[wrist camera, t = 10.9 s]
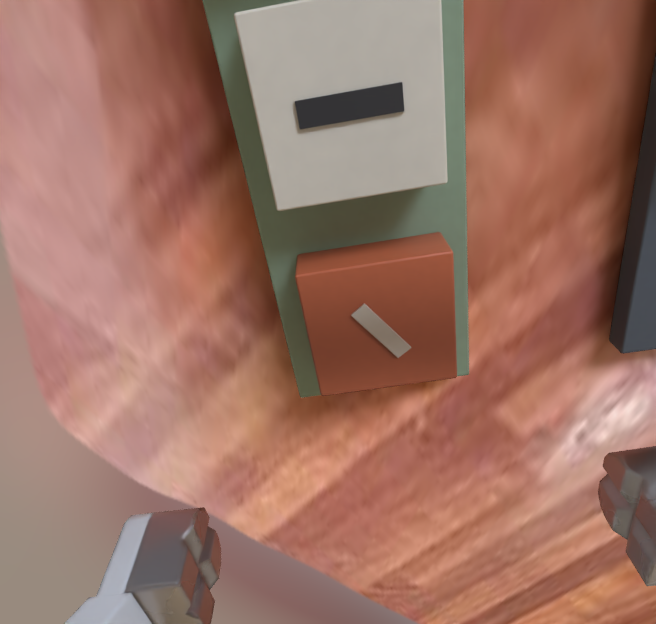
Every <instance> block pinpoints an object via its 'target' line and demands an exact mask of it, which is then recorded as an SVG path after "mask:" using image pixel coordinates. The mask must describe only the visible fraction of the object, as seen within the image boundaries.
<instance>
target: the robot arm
mask: <svg viewBox="0 0 656 624" xmlns="http://www.w3.org/2000/svg"><path fill="white" fill-rule="evenodd" d="M603 467H604V469H605V470H606V472H607V473H608V474H607V475H606V476H605V477H604V478H603V479H602V480H601V481H600V483H599V490H598V495H599V500H600V506H601V509H602V511H603V513H604V516H605V518H606V520H607V521H608V523H609V525H610V527H611V528H612V530H613V531H615V532H616V533H618V534H619V535H621V536H622V537H624V538H625V539H627V546H626V553H627V555H628V556H629V558H630V560H631V561H632V563H633V565H634V566H635V568H636V569H637V571H638V573H639V574H640V576H641V578H642V579H643V581H644V582H645V584H646V586H654V585H656V446H653V447H646V448H639V449H632V450H626V451H619V452H612V453H608V454H607V455H606V456H605V458H604V463H603ZM208 522H209V516H208V514H207V512H206V510H205V508H204V507H203V508H194V509H184V510H174V511H165V512H155V513H147V514H139V515H131V516H130V517H129V518H128V520H127V521H126V522H125V523H124V526H123V528H122V531H121V533H120V536H119V539H118V541H117V544H116V546H115V549H114V551H113V554H112V557H111V559H110V562H109V564H108V567H107V570H106V572H105V575H104V577H103V580H102V582H101V585H100V588H99V590H98V593H97V595H96V597H90V598H88V599H87V600H86V601H85V602H84V603H83V604H82V605H81V606H80V607H79V608H78V610H77V611H76V612H75V613H74V614H73V615H72V616H71V617H70V618H69V619H68V620H67V621H66V622H65V623H64V624H211V619H212V614H213V608H214V603H215V601H214V598H213V597H212V594H211V592H210V589H211V588H212V586H213V585H214V584H215V582H216V581H217V580H218V579H219V573H220V567H221V547H220V542H219V538H218V535H217V533H216V531H215V530H213V529H212V528H210V527H208Z"/></svg>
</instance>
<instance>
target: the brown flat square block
mask: <svg viewBox="0 0 656 624" xmlns="http://www.w3.org/2000/svg"><path fill="white" fill-rule="evenodd" d="M295 280H296V284H297V289H298V293H299V298H300V303H301V307H302V312H303V316H304V321H305V325H306V330H307V335H308V339H309V344H310V348H311V353H312V357H313V362H314V367H315V371H316V376H317V380H318V385H319V389H320V394H321V395H322V396H327V395H334V394H341V393H349V392H356V391H363V390H371V389H378V388H385V387H392V386H400V385H407V384H414V383H422V382H429V381H436V380H443V379H451V378H456V377H457V353H456V321H455V289H454V258H453V251H452V249H451V248H450V246H449V245H448V243H447V242H446V240H445V238H444V237H443V235H442V234H441V232H436V233H429V234H423V235H417V236H410V237H404V238H398V239H391V240H385V241H379V242H372V243H366V244H360V245H353V246H347V247H341V248H334V249H328V250H322V251H315V252H309V253H303V254H298V255H297V262H296V272H295Z"/></svg>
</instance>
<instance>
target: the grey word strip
mask: <svg viewBox="0 0 656 624" xmlns="http://www.w3.org/2000/svg"><path fill="white" fill-rule="evenodd" d="M609 341H610V342H611V343H612V344H613V345H614V346H615V347H616V348H617V349H618V350H619V351H620V352H621V353H630V352H637V351H645V350H652V349H656V55H655V61H654V68H653V74H652V80H651V86H650V92H649V98H648V104H647V111H646V117H645V123H644V129H643V135H642V141H641V147H640V153H639V160H638V166H637V172H636V178H635V184H634V190H633V196H632V203H631V209H630V215H629V221H628V227H627V233H626V239H625V246H624V252H623V258H622V264H621V270H620V276H619V282H618V288H617V295H616V301H615V307H614V313H613V319H612V325H611V331H610V338H609Z"/></svg>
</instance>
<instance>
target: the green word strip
mask: <svg viewBox="0 0 656 624" xmlns="http://www.w3.org/2000/svg"><path fill="white" fill-rule="evenodd" d="M202 1H203V5H204V9H205V13H206V17H207V21H208V25H209V29H210V34H211V38H212V42H213V46H214V50H215V54H216V58H217V62H218V66H219V70H220V74H221V78H222V82H223V86H224V90H225V94H226V98H227V102H228V106H229V111H230V115H231V119H232V123H233V127H234V131H235V135H236V139H237V143H238V147H239V151H240V155H241V159H242V163H243V167H244V171H245V175H246V179H247V183H248V188H249V192H250V196H251V200H252V204H253V208H254V212H255V216H256V220H257V224H258V228H259V232H260V236H261V240H262V244H263V248H264V252H265V256H266V260H267V264H268V269H269V273H270V277H271V281H272V285H273V289H274V293H275V297H276V301H277V305H278V309H279V313H280V317H281V321H282V325H283V329H284V333H285V337H286V341H287V346H288V350H289V354H290V358H291V362H292V366H293V370H294V374H295V378H296V382H297V386H298V390H299V394H300V397H301V398H303V397H310V396H317V395H321V394H320V389H319V385H318V380H317V376H316V371H315V367H314V362H313V357H312V353H311V348H310V344H309V339H308V335H307V330H306V325H305V321H304V316H303V312H302V307H301V303H300V298H299V293H298V289H297V284H296V280H295V272H296V262H297V255H298V254H303V253H309V252H315V251H322V250H328V249H334V248H341V247H347V246H353V245H360V244H366V243H372V242H379V241H385V240H391V239H398V238H404V237H410V236H417V235H423V234H429V233H436V232H441V234H442V235H443V237H444V238H445V240H446V242H447V243H448V245H449V246H450V248H451V249H452V251H453V258H454V289H455V321H456V353H457V376H463V375H468V374H469V337H468V272H467V207H466V142H465V77H464V11H463V0H202Z"/></svg>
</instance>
